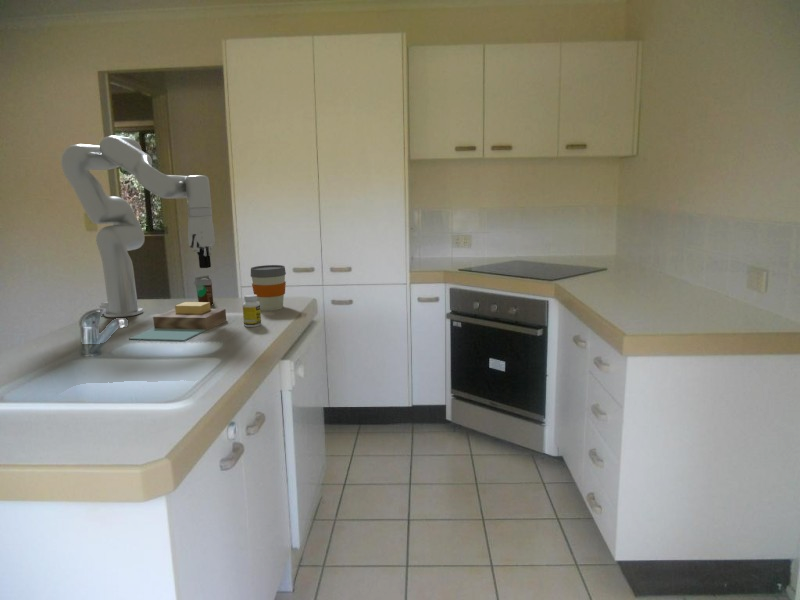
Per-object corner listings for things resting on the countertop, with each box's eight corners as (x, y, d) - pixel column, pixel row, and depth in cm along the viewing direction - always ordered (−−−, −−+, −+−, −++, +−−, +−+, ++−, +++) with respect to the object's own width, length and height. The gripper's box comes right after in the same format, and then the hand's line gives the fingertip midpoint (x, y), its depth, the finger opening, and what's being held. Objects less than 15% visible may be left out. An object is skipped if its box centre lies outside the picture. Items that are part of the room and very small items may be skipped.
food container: (194, 301, 223) (192, 276, 221) (210, 299, 225) (208, 275, 223) (196, 307, 211) (194, 280, 209) (213, 305, 214) (211, 279, 212)
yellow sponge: (175, 313, 183) (174, 305, 182) (185, 309, 189) (185, 301, 188) (201, 313, 181) (200, 306, 181) (210, 309, 187) (209, 302, 187)
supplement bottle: (259, 327, 178) (257, 296, 177) (242, 327, 178) (239, 297, 176) (262, 323, 184) (260, 293, 182) (246, 323, 184) (243, 294, 182)
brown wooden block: (154, 329, 179) (153, 316, 178) (177, 319, 192) (176, 308, 191) (206, 330, 176) (205, 317, 175) (226, 320, 188) (225, 308, 188)
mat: (129, 339, 167) (128, 338, 167) (153, 329, 179) (153, 328, 179) (184, 341, 164) (184, 339, 164) (205, 330, 176) (205, 329, 175)
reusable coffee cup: (295, 305, 210) (292, 265, 207) (272, 312, 199) (269, 270, 196) (268, 303, 215) (265, 264, 212) (245, 309, 204) (242, 269, 201)
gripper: (201, 212, 196) (206, 264, 200) (177, 214, 182) (183, 271, 185) (221, 211, 195) (226, 264, 199) (198, 214, 180) (204, 271, 184)
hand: (205, 267), depth 192 cm, fingers closed
